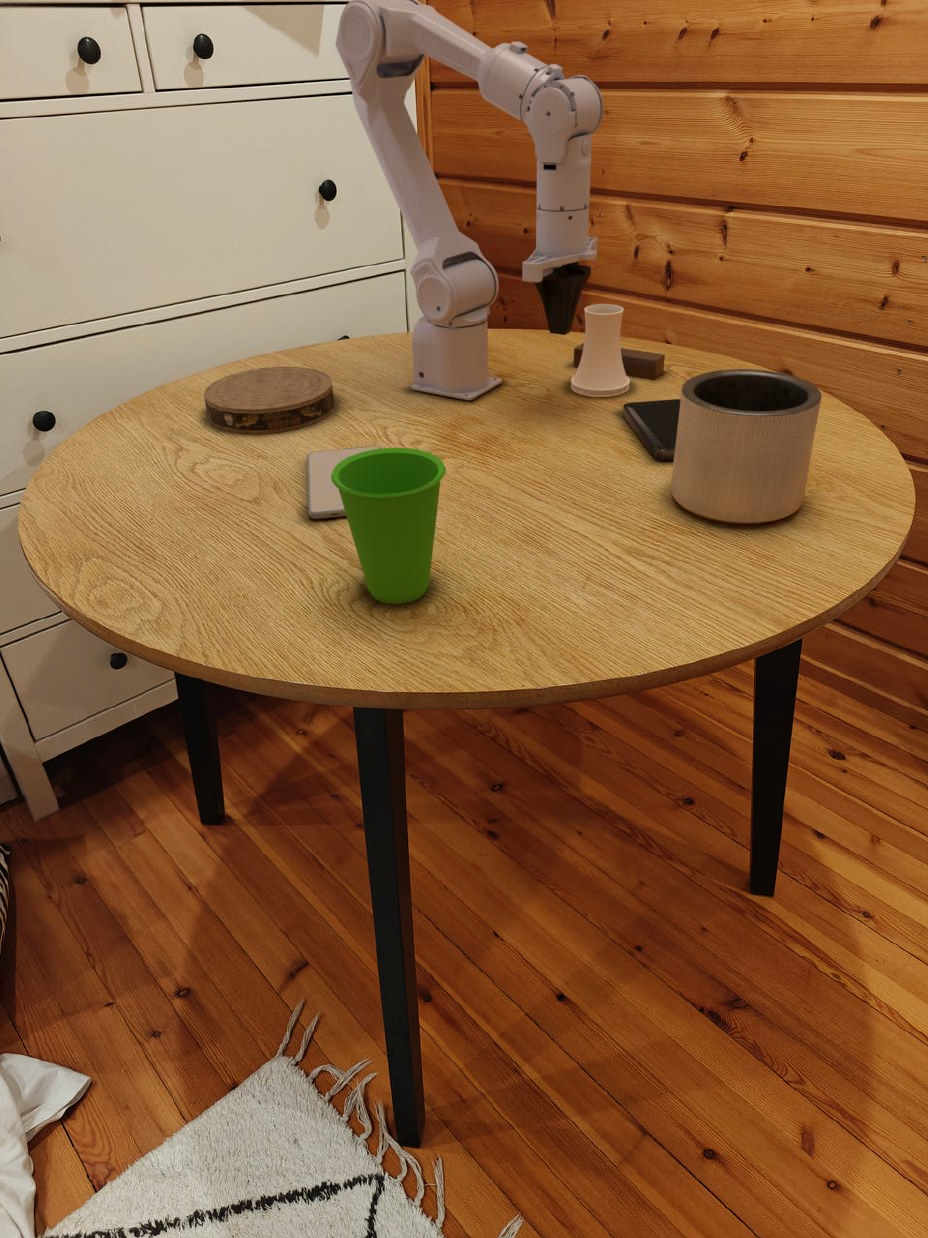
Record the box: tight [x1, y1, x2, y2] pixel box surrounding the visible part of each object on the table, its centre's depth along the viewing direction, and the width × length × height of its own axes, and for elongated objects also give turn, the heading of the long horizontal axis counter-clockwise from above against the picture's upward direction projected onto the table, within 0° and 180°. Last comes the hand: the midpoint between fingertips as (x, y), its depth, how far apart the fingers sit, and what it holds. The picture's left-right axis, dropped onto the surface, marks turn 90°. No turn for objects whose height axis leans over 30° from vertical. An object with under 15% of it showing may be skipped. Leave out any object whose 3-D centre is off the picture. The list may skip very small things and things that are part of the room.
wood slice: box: [203, 366, 335, 435], centre depth 114 cm, size 16×16×3 cm
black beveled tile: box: [622, 398, 681, 462], centre depth 103 cm, size 8×1×15 cm
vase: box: [570, 303, 631, 398], centre depth 114 cm, size 8×8×10 cm
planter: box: [670, 368, 822, 526], centre depth 86 cm, size 12×12×11 cm
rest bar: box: [573, 342, 666, 380], centre depth 122 cm, size 12×3×2 cm, turn 57°
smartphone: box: [306, 445, 381, 520], centre depth 94 cm, size 8×1×15 cm
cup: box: [331, 447, 447, 605], centre depth 74 cm, size 9×9×11 cm
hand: (559, 332), depth 106 cm, fingers closed
